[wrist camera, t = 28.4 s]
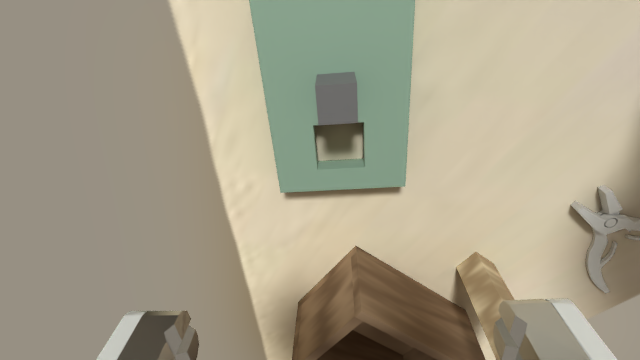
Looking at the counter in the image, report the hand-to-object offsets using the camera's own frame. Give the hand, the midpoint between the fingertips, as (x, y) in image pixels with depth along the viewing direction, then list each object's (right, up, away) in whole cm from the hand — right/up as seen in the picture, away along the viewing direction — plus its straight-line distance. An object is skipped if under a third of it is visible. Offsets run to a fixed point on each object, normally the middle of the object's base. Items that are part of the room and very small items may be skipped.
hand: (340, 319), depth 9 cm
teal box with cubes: (+1, +11, +20) cm, 23 cm away
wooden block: (+18, -6, +31) cm, 36 cm away
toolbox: (+7, -13, +35) cm, 38 cm away
